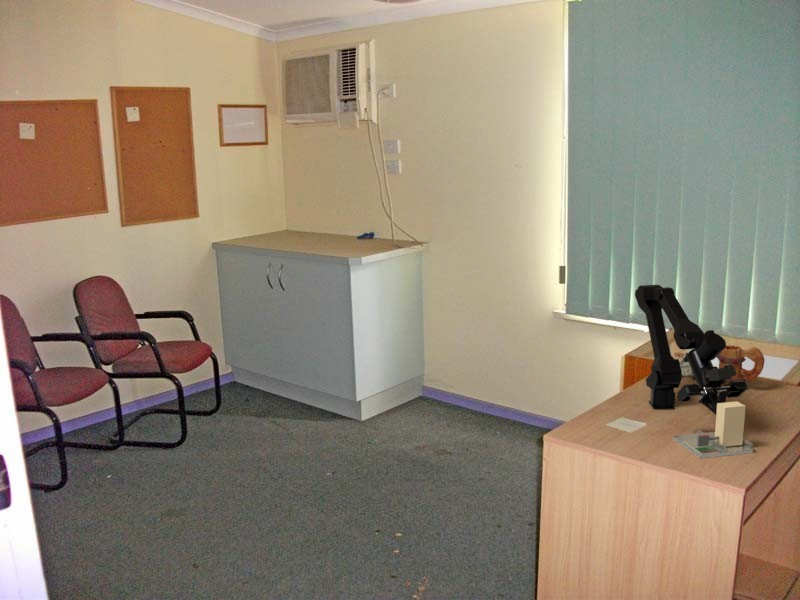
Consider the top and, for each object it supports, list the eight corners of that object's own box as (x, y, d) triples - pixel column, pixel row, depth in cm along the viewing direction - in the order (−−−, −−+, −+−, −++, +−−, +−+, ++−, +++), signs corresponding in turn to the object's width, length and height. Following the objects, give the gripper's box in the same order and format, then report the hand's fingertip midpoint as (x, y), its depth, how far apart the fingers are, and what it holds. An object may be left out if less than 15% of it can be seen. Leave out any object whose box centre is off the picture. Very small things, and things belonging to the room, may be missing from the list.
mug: (711, 389, 248) (714, 345, 245) (716, 382, 254) (719, 340, 251) (759, 397, 239) (762, 352, 236) (763, 390, 246) (767, 346, 243)
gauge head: (696, 442, 201) (699, 404, 199) (732, 438, 203) (735, 400, 201) (705, 448, 197) (708, 409, 195) (742, 444, 199) (745, 405, 197)
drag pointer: (697, 445, 198) (697, 434, 198) (707, 444, 199) (708, 433, 198) (698, 446, 198) (699, 435, 197) (708, 445, 198) (709, 434, 198)
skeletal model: (660, 384, 254) (670, 324, 266) (662, 397, 261) (672, 338, 273) (710, 390, 246) (719, 327, 259) (711, 403, 253) (720, 342, 266)
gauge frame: (672, 439, 207) (673, 431, 207) (722, 434, 210) (723, 426, 210) (700, 458, 195) (700, 449, 194) (752, 452, 198) (753, 443, 197)
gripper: (685, 357, 202) (706, 409, 193) (746, 352, 205) (770, 403, 197) (667, 376, 211) (687, 427, 203) (727, 371, 214) (748, 420, 206)
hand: (723, 419), depth 202 cm, fingers closed, pressing on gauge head
